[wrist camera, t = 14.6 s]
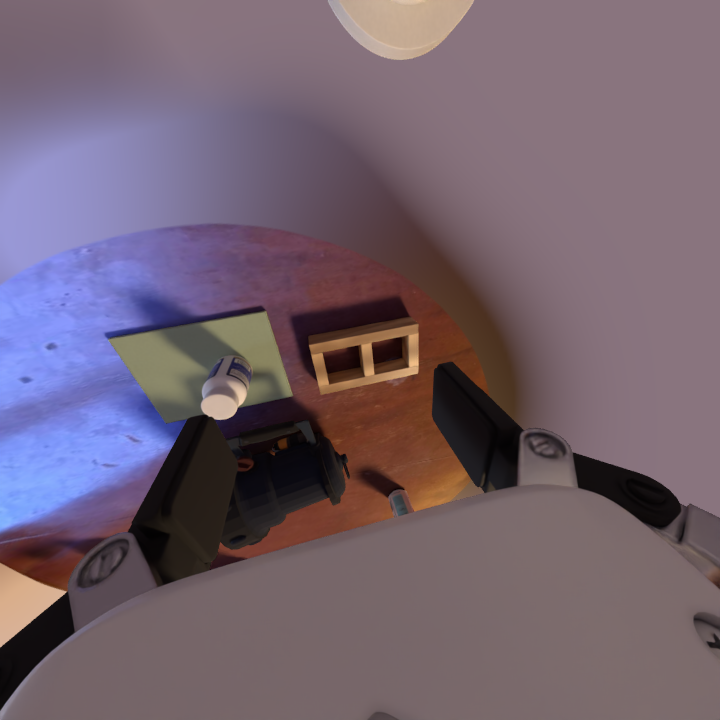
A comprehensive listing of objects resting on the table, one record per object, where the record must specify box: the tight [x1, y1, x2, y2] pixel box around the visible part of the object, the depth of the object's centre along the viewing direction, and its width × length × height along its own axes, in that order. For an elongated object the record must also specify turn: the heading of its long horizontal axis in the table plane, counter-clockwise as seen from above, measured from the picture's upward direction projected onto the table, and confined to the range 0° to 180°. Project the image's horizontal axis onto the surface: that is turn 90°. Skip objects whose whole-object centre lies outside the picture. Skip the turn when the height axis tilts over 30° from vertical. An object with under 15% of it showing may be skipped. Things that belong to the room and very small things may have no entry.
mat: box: [108, 310, 293, 424], centre depth 38 cm, size 15×20×1 cm
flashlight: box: [220, 419, 350, 550], centre depth 42 cm, size 15×21×20 cm
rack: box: [308, 317, 418, 395], centre depth 41 cm, size 9×16×3 cm, turn 97°
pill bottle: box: [201, 355, 253, 420], centre depth 35 cm, size 5×5×9 cm
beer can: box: [389, 489, 414, 517], centre depth 59 cm, size 5×5×12 cm
